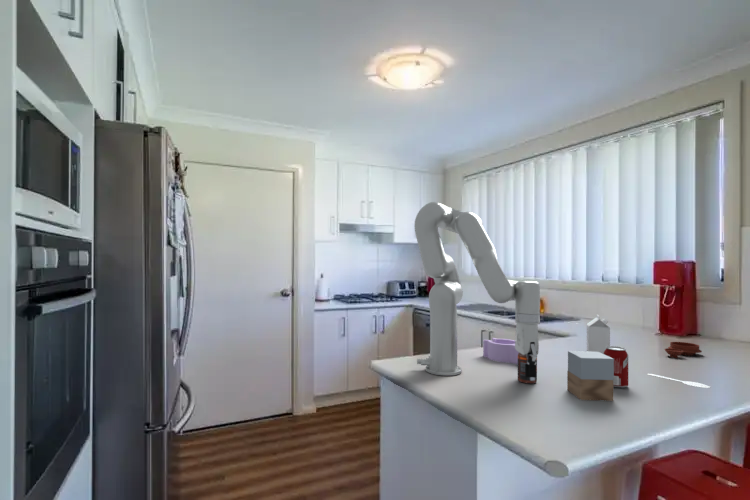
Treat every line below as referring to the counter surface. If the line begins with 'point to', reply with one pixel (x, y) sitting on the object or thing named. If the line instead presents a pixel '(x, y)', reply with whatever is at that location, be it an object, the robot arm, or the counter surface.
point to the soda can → (619, 365)
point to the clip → (500, 350)
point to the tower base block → (590, 388)
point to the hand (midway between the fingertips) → (527, 373)
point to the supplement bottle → (521, 370)
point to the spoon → (684, 381)
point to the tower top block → (591, 365)
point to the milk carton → (598, 335)
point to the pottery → (682, 349)
